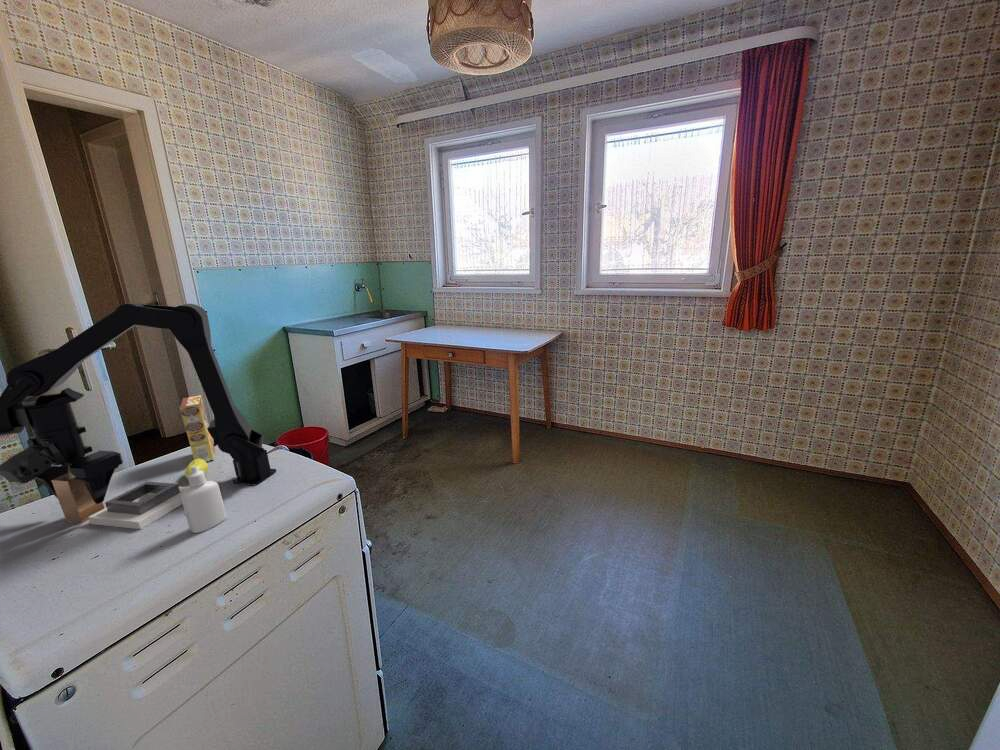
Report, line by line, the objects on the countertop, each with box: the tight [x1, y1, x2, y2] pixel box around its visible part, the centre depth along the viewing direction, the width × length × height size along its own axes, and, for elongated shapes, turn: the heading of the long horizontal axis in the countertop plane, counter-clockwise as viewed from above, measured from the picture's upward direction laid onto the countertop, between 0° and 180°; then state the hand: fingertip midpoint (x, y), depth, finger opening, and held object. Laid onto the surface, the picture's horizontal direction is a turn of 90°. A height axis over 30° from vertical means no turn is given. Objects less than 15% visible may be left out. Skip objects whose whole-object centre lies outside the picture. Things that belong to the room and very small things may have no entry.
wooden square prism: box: [51, 471, 106, 524], centre depth 80 cm, size 4×4×9 cm
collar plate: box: [88, 481, 190, 530], centre depth 82 cm, size 12×12×4 cm
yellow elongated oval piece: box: [184, 459, 209, 480], centre depth 95 cm, size 4×8×4 cm, turn 22°
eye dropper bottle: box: [181, 466, 227, 534], centre depth 75 cm, size 4×6×12 cm
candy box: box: [179, 395, 216, 462], centre depth 103 cm, size 9×4×15 cm, turn 33°
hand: (81, 501), depth 80 cm, fingers open, 9 cm apart
